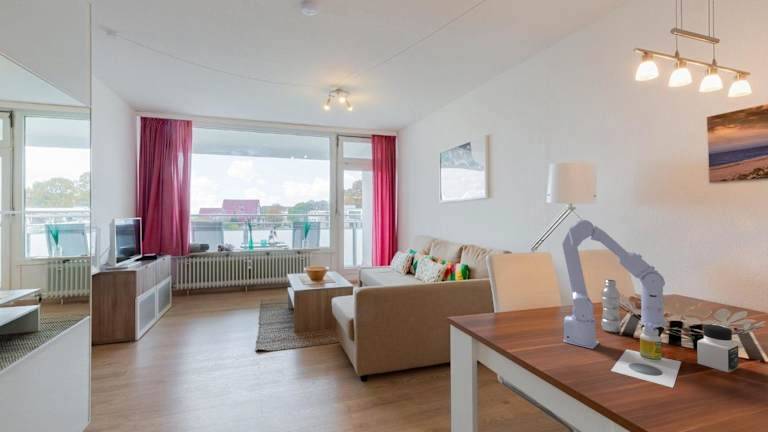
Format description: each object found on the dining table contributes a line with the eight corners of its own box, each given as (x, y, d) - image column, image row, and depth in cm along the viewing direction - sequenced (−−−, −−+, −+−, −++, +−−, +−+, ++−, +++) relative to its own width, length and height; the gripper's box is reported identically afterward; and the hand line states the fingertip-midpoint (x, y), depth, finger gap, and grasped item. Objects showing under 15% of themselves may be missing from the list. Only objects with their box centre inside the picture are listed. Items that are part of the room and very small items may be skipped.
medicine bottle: (729, 373, 97) (728, 331, 97) (697, 363, 103) (696, 324, 103) (739, 367, 100) (738, 327, 100) (707, 358, 106) (707, 321, 106)
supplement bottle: (644, 353, 110) (643, 324, 110) (664, 359, 106) (664, 329, 106) (637, 358, 107) (636, 328, 107) (657, 364, 103) (657, 333, 103)
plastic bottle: (603, 333, 130) (602, 281, 130) (599, 327, 136) (598, 278, 136) (623, 335, 128) (622, 282, 128) (618, 329, 134) (617, 279, 134)
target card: (610, 372, 99) (610, 370, 99) (626, 350, 114) (626, 349, 114) (673, 389, 89) (673, 387, 89) (681, 362, 104) (681, 361, 104)
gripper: (665, 314, 102) (666, 359, 102) (670, 305, 112) (671, 345, 112) (636, 310, 107) (637, 352, 107) (644, 301, 117) (645, 340, 117)
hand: (653, 348), depth 110 cm, fingers closed
